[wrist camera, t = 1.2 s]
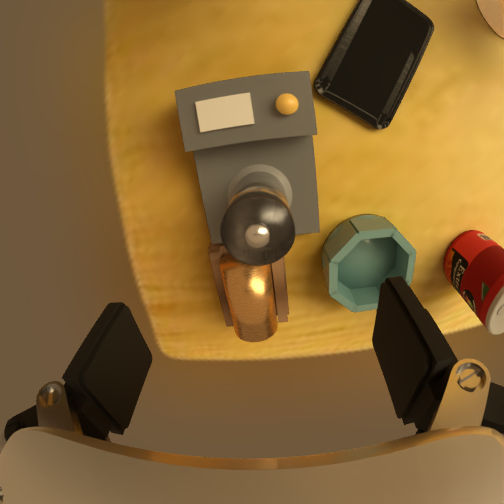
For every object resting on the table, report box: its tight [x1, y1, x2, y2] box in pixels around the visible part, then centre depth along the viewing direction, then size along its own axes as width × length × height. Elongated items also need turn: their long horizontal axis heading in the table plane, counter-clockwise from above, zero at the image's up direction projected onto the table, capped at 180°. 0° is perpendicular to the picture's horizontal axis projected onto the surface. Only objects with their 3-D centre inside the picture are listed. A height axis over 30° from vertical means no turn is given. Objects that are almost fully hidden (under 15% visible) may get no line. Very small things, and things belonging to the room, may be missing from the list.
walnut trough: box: [209, 241, 289, 326], centre depth 29 cm, size 9×7×3 cm
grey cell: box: [220, 171, 295, 266], centre depth 20 cm, size 4×4×9 cm
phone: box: [314, 0, 434, 129], centre depth 19 cm, size 8×1×15 cm
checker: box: [175, 71, 320, 244], centre depth 22 cm, size 14×10×5 cm
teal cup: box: [321, 214, 416, 312], centre depth 27 cm, size 9×9×4 cm
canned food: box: [444, 230, 504, 335], centre depth 23 cm, size 8×8×11 cm
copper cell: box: [219, 253, 277, 342], centre depth 27 cm, size 9×4×4 cm, turn 8°
